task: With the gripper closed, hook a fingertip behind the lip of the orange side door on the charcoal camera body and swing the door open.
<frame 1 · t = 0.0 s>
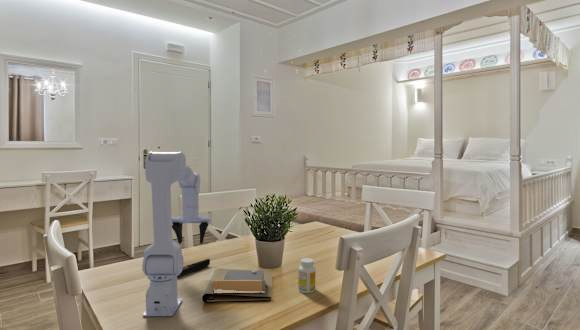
hand: (191, 242, 124), 10 cm above the table, tool pointing down, fingers open, 7 cm apart
camera body: (244, 287, 110), on the table
side door: (239, 287, 105), point 2 cm above the table, hinge at 0.0°
supplement bottle: (306, 290, 108), on the table
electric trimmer: (190, 272, 124), on the table
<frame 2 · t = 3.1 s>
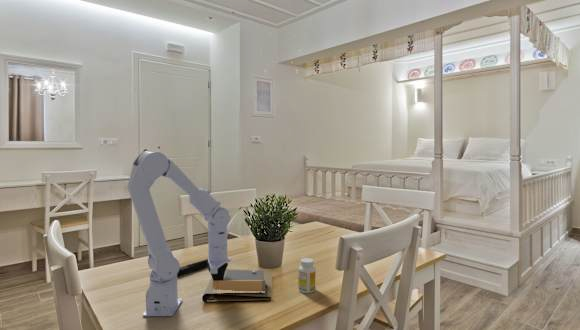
hand: (218, 287, 106), 1 cm above the table, tool pointing down, fingers closed, pressing on camera body
side door: (239, 287, 105), point 2 cm above the table, hinge at 0.5°, touching gripper
everything else where it was.
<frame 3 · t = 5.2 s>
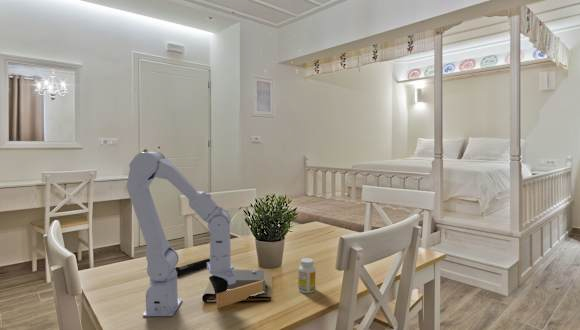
hand: (220, 300, 98), 1 cm above the table, tool pointing down, fingers closed
side door: (242, 293, 101), point 2 cm above the table, hinge at 36.4°, touching gripper
everything else where it was.
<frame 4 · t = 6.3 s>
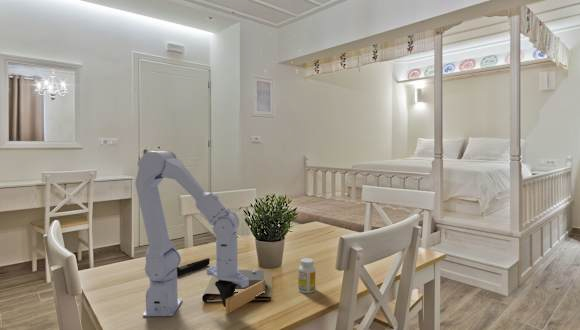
hand: (227, 305, 95), 1 cm above the table, tool pointing down, fingers closed
side door: (247, 295, 99), point 2 cm above the table, hinge at 53.2°, touching gripper
everything else where it was.
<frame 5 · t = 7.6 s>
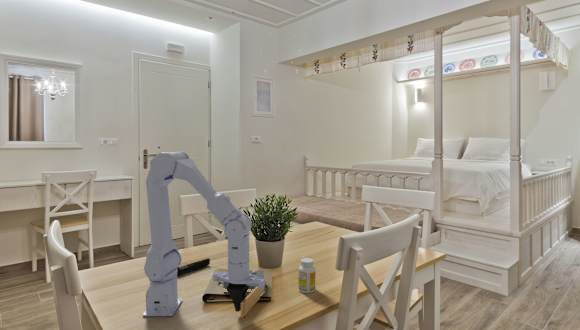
hand: (238, 309, 93), 1 cm above the table, tool pointing down, fingers closed
side door: (254, 297, 98), point 2 cm above the table, hinge at 71.7°, touching gripper
everything else where it was.
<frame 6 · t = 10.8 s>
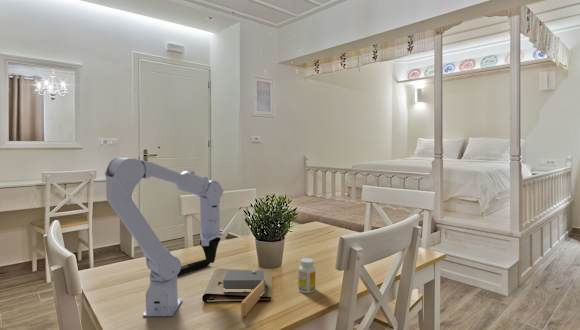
hand: (210, 262, 106), 9 cm above the table, tool pointing down, fingers closed
side door: (254, 297, 98), point 2 cm above the table, hinge at 72.0°
everything else where it was.
at the end: side door at +72° (first picture: +0°) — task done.
